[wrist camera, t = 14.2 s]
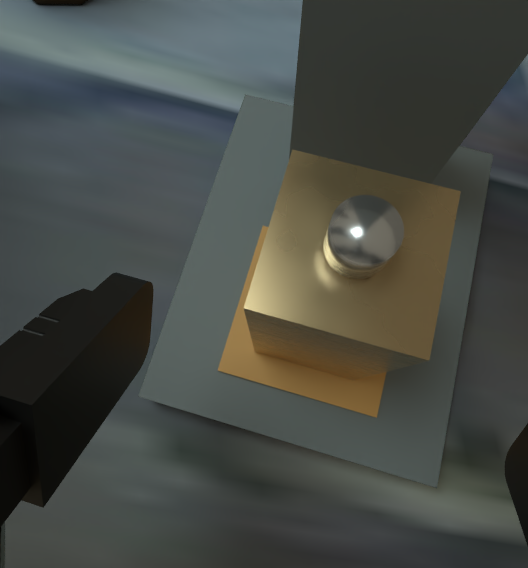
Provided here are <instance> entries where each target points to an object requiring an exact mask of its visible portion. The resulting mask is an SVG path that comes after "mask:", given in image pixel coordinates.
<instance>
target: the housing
mask: <svg viewBox="0 0 528 568" xmlns="http://www.w3.org/2000/svg"><path fill="white" fill-rule="evenodd" d="M460 193H461V191H458V190H454V189H450V188H446V187H442V186H438V185H434V184H430V183H426V182H422V181H418V180H414V179H410V178H406V177H401V176H397V175H393V174H389V173H385V172H381V171H377V170H373V169H369V168H365V167H361V166H357V165H353V164H349V163H345V162H341V161H337V160H333V159H329V158H325V157H321V156H317V155H313V154H309V153H305V152H301V151H297V150H293V149H292V152H291V156H290V159H289V162H288V165H287V169H286V172H285V175H284V178H283V182H282V185H281V188H280V191H279V195H278V198H277V201H276V204H275V208H274V211H273V214H272V217H271V221H270V224H269V227H268V230H267V234H266V237H265V240H264V243H263V247H262V250H261V253H260V256H259V260H258V263H257V266H256V269H255V273H254V276H253V279H252V282H251V286H250V289H249V292H248V295H247V299H246V302H245V305H244V312H245V316H246V320H247V324H248V328H249V332H250V335H251V339H252V343H253V347H254V351H255V352H257V353H260V354H263V355H267V356H270V357H274V358H277V359H281V360H284V361H288V362H291V363H294V364H298V365H301V366H305V367H308V368H312V369H315V370H319V371H322V372H326V373H329V374H332V375H336V376H339V377H343V378H346V379H350V380H353V381H354V380H357V379H361V378H365V377H369V376H373V375H376V374H380V373H384V372H388V371H392V370H396V369H399V368H403V367H407V366H411V365H415V364H418V363H422V362H426V361H429V360H430V355H431V349H432V344H433V338H434V333H435V328H436V322H437V317H438V311H439V306H440V301H441V295H442V290H443V285H444V279H445V274H446V268H447V263H448V258H449V252H450V247H451V241H452V236H453V231H454V225H455V220H456V214H457V209H458V204H459V198H460Z"/></svg>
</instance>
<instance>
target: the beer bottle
mask: <svg viewBox="0 0 528 568" xmlns="http://www.w3.org/2000/svg"><path fill="white" fill-rule="evenodd" d="M33 1H35V2H36V3H38V4H83V3H85V2H86V1H88V0H33Z"/></svg>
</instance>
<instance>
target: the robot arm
mask: <svg viewBox="0 0 528 568" xmlns="http://www.w3.org/2000/svg"><path fill="white" fill-rule="evenodd" d="M152 304H153V285H152V283H151V282H148V281H145V280H141V279H138V278H134V277H130V276H127V275H123V274H120V273H113V274H112V275H110V276H109V277H108V278H107V279H106V280H105V281H103V282H102V283H101V284H100V285H99V286H98V287H97V288H96V289H95V290H93V291H90V290H86V289H81V290H79V291H76V292H74V293H71V294H69V295H66V296H64V297H61V298H59V299H57V300H56V301H55V302H53V303H52V304H51V305H50V306H49V307H47V308H46V309H45V310H44V311H42V312H41V313H40V314H39V317H38V318H37V317H35V318H34V319H33V320H31V321H30V322H29V323H28V324H27V325H25V326H24V327H23V330H22V331H20V330H19V331H18V332H17V333H16V334H14V335H13V336H12V337H11V338H9V339H8V340H7V341H6V342H5V343H3V344H2V345H1V346H0V568H5V521H6V519H7V518H8V517H9V515H10V514H11V513H12V511H13V510H14V509H15V507H16V506H17V505H18V503H19V502H20V501H21V500H22V501H25V502H28V503H31V504H34V505H37V506H40V507H44V506H45V505H46V503H47V502H48V500H49V499H50V497H51V496H52V495H53V493H54V492H55V490H56V489H57V487H58V486H59V485H60V483H61V482H62V480H63V479H64V477H65V476H66V475H67V473H68V472H69V470H70V469H71V467H72V466H73V465H74V463H75V462H76V460H77V459H78V457H79V456H80V454H81V453H82V452H83V450H84V449H85V447H86V446H87V444H88V443H89V442H90V440H91V439H92V437H93V436H94V434H95V433H96V432H97V430H98V429H99V427H100V426H101V424H102V423H103V422H104V420H105V419H106V417H107V416H108V414H109V413H110V412H111V410H112V409H113V407H114V406H115V404H116V403H117V401H118V400H119V399H120V397H121V396H122V394H123V393H124V391H125V390H126V389H127V387H128V386H129V384H130V383H131V381H132V380H133V379H134V377H135V376H136V374H137V373H138V371H139V370H140V368H141V366H142V365H143V362H144V360H145V358H146V355H147V352H148V348H149V343H150V332H151V318H152ZM505 477H506V481H507V485H508V488H509V491H510V494H511V497H512V500H513V503H514V506H515V509H516V512H517V515H518V518H519V521H520V524H521V527H522V530H523V533H524V536H525V539H526V542H527V545H528V424H527V425H526V426H525V428H524V429H523V431H522V432H521V433H520V435H519V436H518V437H517V439H516V440H515V441H514V443H513V444H512V446H511V447H510V449H509V451H508V453H507V456H506V461H505Z"/></svg>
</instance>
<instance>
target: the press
mask: <svg viewBox="0 0 528 568" xmlns="http://www.w3.org/2000/svg"><path fill="white" fill-rule="evenodd" d="M527 54H528V0H303V5H302V16H301V28H300V39H299V51H298V62H297V74H296V85H295V97H294V106H291V105H286V104H282V103H278V102H274V101H270V100H266V99H262V98H257V97H253V96H249V95H245V97H244V99H243V102H242V105H241V108H240V111H239V114H238V116H237V119H236V122H235V125H234V128H233V130H232V133H231V136H230V139H229V142H228V145H227V147H226V150H225V153H224V156H223V159H222V161H221V164H220V167H219V170H218V173H217V176H216V178H215V181H214V184H213V187H212V190H211V192H210V195H209V198H208V201H207V204H206V207H205V209H204V212H203V215H202V218H201V221H200V223H199V226H198V229H197V232H196V235H195V238H194V240H193V243H192V246H191V249H190V252H189V254H188V257H187V260H186V263H185V266H184V269H183V271H182V274H181V277H180V280H179V283H178V285H177V288H176V291H175V294H174V297H173V300H172V302H171V305H170V308H169V311H168V314H167V316H166V319H165V322H164V325H163V328H162V331H161V333H160V336H159V339H158V342H157V345H156V347H155V350H154V353H153V356H152V359H151V362H150V364H149V367H148V370H147V373H146V376H145V378H144V381H143V384H142V387H141V390H140V393H139V395H138V397H142V398H145V399H148V400H151V401H155V402H158V403H161V404H164V405H168V406H171V407H174V408H177V409H181V410H184V411H187V412H191V413H194V414H197V415H200V416H204V417H207V418H210V419H213V420H217V421H220V422H223V423H226V424H230V425H233V426H236V427H239V428H243V429H246V430H249V431H252V432H256V433H259V434H262V435H265V436H269V437H272V438H275V439H279V440H282V441H285V442H288V443H292V444H295V445H298V446H301V447H305V448H308V449H311V450H314V451H318V452H321V453H324V454H327V455H331V456H334V457H337V458H340V459H344V460H347V461H350V462H353V463H357V464H360V465H363V466H367V467H370V468H373V469H376V470H380V471H383V472H386V473H389V474H393V475H396V476H399V477H402V478H406V479H409V480H412V481H415V482H419V483H422V484H425V485H428V486H432V487H435V488H437V485H438V479H439V473H440V467H441V461H442V455H443V449H444V443H445V437H446V431H447V425H448V420H449V414H450V408H451V402H452V396H453V390H454V384H455V378H456V372H457V366H458V360H459V354H460V348H461V343H462V337H463V331H464V325H465V319H466V313H467V307H468V301H469V295H470V289H471V283H472V277H473V271H474V266H475V260H476V254H477V248H478V242H479V236H480V230H481V224H482V218H483V212H484V206H485V200H486V194H487V188H488V183H489V177H490V171H491V165H492V159H493V154H490V153H486V152H482V151H478V150H474V149H469V148H465V147H461V146H460V144H461V143H462V142H463V140H464V139H465V137H466V136H467V135H468V133H469V132H470V131H471V129H472V128H473V127H474V125H475V124H476V123H477V121H478V120H479V119H480V117H481V116H482V115H483V113H484V112H485V111H486V109H487V108H488V107H489V105H490V104H491V103H492V101H493V100H494V99H495V97H496V96H497V95H498V93H499V92H500V90H501V89H502V88H503V86H504V85H505V84H506V82H507V81H508V80H509V78H510V77H511V76H512V74H513V73H514V72H515V70H516V69H517V68H518V66H519V65H520V64H521V62H522V61H523V60H524V58H525V57H526V56H527ZM292 149H293V150H297V151H301V152H305V153H309V154H313V155H317V156H321V157H325V158H329V159H333V160H337V161H341V162H345V163H349V164H353V165H357V166H361V167H365V168H369V169H373V170H377V171H381V172H385V173H389V174H393V175H397V176H401V177H406V178H410V179H414V180H418V181H422V182H426V183H430V184H434V185H438V186H442V187H446V188H450V189H454V190H458V191H461V193H460V198H459V204H458V209H457V214H456V220H455V225H454V231H453V236H452V241H451V247H450V252H449V258H448V263H447V268H446V274H445V279H444V285H443V290H442V295H441V301H440V306H439V311H438V317H437V322H436V328H435V333H434V338H433V344H432V349H431V355H430V360H429V361H426V362H422V363H418V364H415V365H411V366H407V367H403V368H399V369H396V370H392V371H388V372H384V373H380V374H376V375H373V376H369V377H365V378H361V379H357V380H354V381H353V380H350V379H346V378H343V377H339V376H336V375H332V374H329V373H326V372H322V371H319V370H315V369H312V368H308V367H305V366H301V365H298V364H294V363H291V362H288V361H284V360H281V359H277V358H274V357H270V356H267V355H263V354H260V353H257V352H255V351H254V347H253V343H252V339H251V335H250V332H249V328H248V324H247V320H246V316H245V312H244V305H245V302H246V299H247V295H248V292H249V289H250V286H251V282H252V279H253V276H254V273H255V269H256V266H257V263H258V260H259V256H260V253H261V250H262V247H263V243H264V240H265V237H266V234H267V230H268V227H269V224H270V221H271V217H272V214H273V211H274V208H275V204H276V201H277V198H278V195H279V191H280V188H281V185H282V182H283V178H284V175H285V172H286V169H287V165H288V162H289V159H290V156H291V152H292Z"/></svg>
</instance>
